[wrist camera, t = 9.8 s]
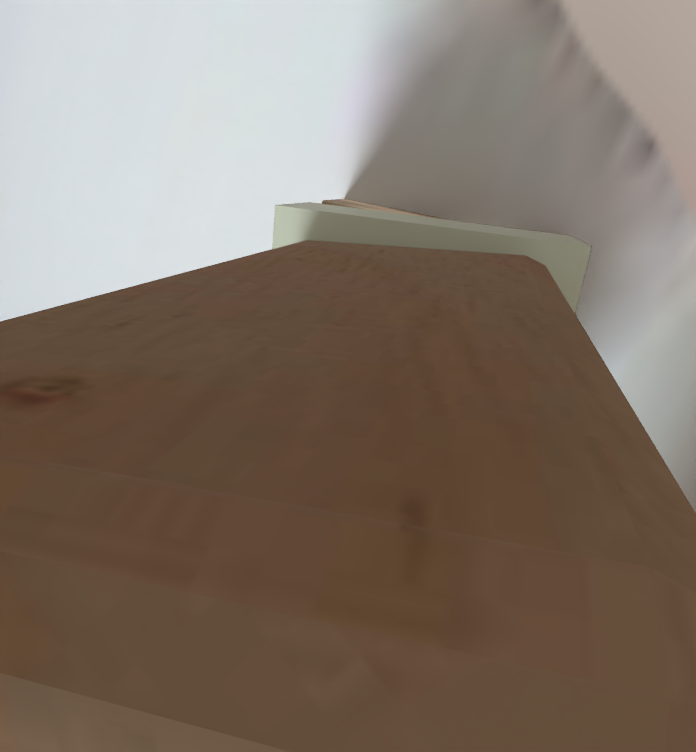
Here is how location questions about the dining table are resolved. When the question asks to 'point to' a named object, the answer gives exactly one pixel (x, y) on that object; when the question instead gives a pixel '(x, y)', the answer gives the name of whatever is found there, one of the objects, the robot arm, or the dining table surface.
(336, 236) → the tower top
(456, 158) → the dining table surface
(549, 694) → the wooden block
